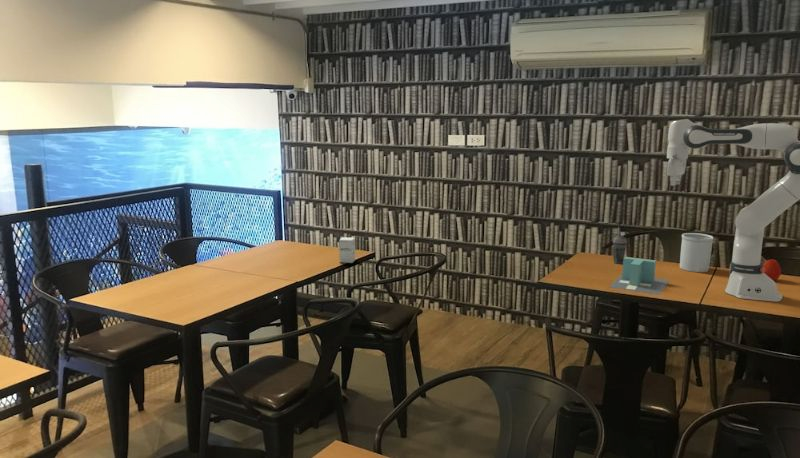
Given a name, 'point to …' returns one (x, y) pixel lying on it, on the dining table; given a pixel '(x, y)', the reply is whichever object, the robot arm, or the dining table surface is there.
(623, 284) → the slate board
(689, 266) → the utensil holder
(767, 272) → the apple
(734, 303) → the dining table surface
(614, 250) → the beverage cup
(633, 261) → the tee block
